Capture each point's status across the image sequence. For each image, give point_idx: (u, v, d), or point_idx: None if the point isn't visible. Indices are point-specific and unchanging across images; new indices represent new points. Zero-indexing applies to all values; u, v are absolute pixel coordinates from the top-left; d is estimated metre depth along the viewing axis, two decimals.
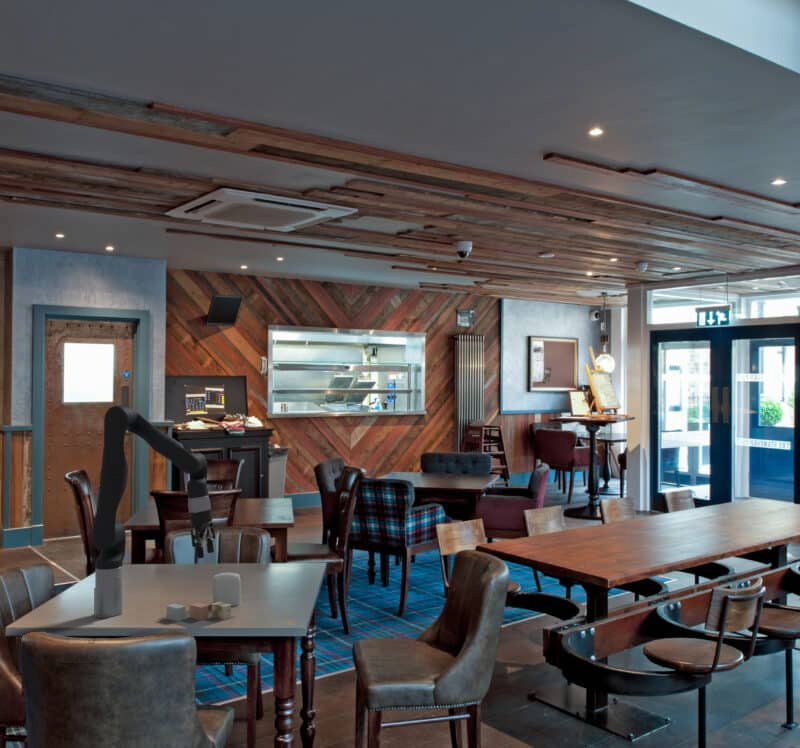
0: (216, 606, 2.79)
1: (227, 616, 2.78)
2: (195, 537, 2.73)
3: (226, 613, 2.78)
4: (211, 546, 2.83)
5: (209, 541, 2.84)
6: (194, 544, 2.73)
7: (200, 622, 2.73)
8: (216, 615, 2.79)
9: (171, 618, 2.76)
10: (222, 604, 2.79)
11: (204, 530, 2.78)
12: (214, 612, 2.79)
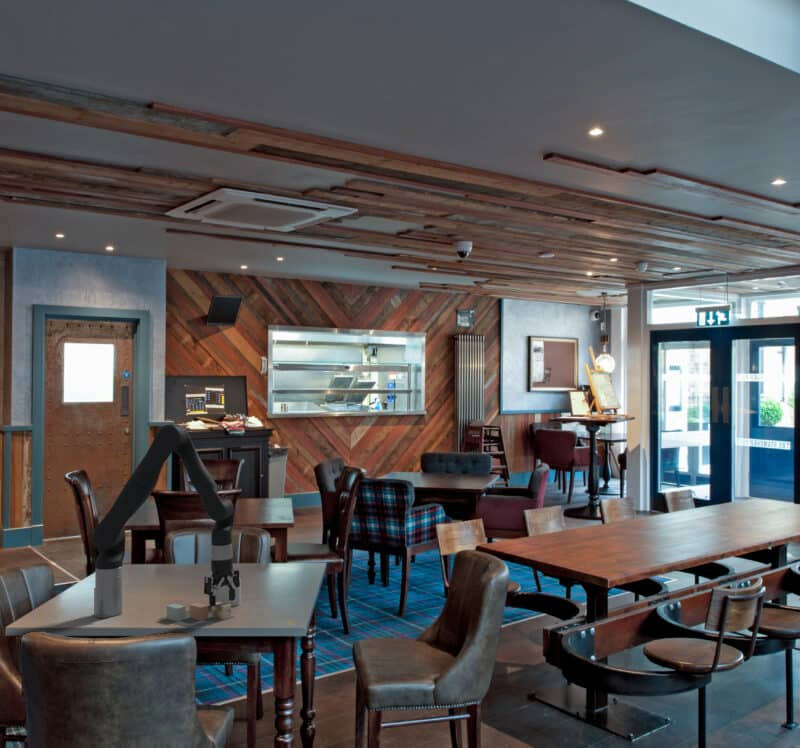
0: (216, 606, 2.79)
1: (227, 616, 2.78)
2: (207, 585, 2.74)
3: (226, 613, 2.78)
4: (232, 594, 2.83)
5: (231, 588, 2.83)
6: (205, 592, 2.74)
7: (200, 622, 2.73)
8: (216, 615, 2.79)
9: (171, 618, 2.76)
10: (222, 604, 2.79)
11: (220, 579, 2.77)
12: (214, 612, 2.79)
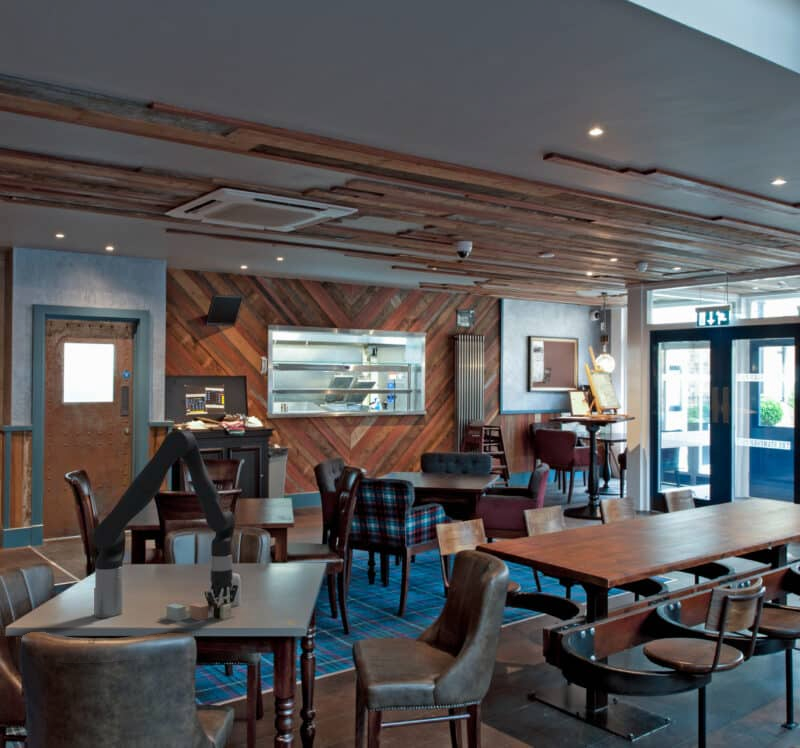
0: None
1: (227, 616, 2.78)
2: (209, 600, 2.75)
3: (227, 613, 2.78)
4: None
5: None
6: (210, 604, 2.76)
7: (200, 622, 2.73)
8: None
9: (171, 618, 2.76)
10: (222, 604, 2.79)
11: (220, 590, 2.77)
12: None
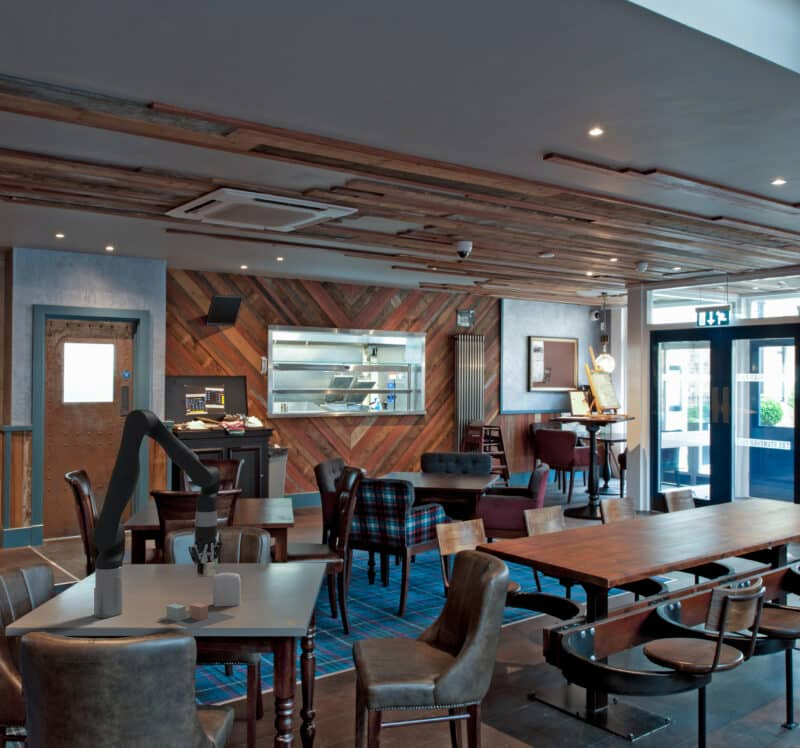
0: None
1: (212, 573, 2.77)
2: (193, 555, 2.75)
3: (211, 570, 2.77)
4: None
5: (209, 560, 2.81)
6: (194, 559, 2.76)
7: (200, 622, 2.73)
8: (201, 574, 2.78)
9: (171, 618, 2.76)
10: (206, 562, 2.79)
11: (204, 546, 2.77)
12: None
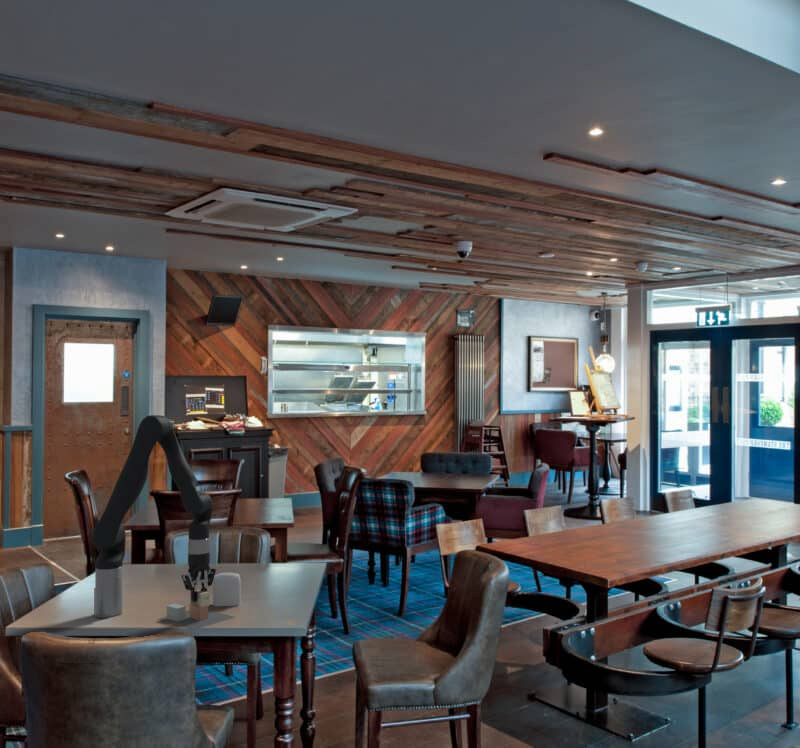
0: None
1: (205, 604, 2.77)
2: (186, 583, 2.74)
3: (205, 601, 2.77)
4: None
5: (203, 587, 2.80)
6: (187, 587, 2.75)
7: (200, 622, 2.73)
8: (194, 603, 2.78)
9: (171, 618, 2.76)
10: (200, 592, 2.78)
11: (197, 574, 2.76)
12: None
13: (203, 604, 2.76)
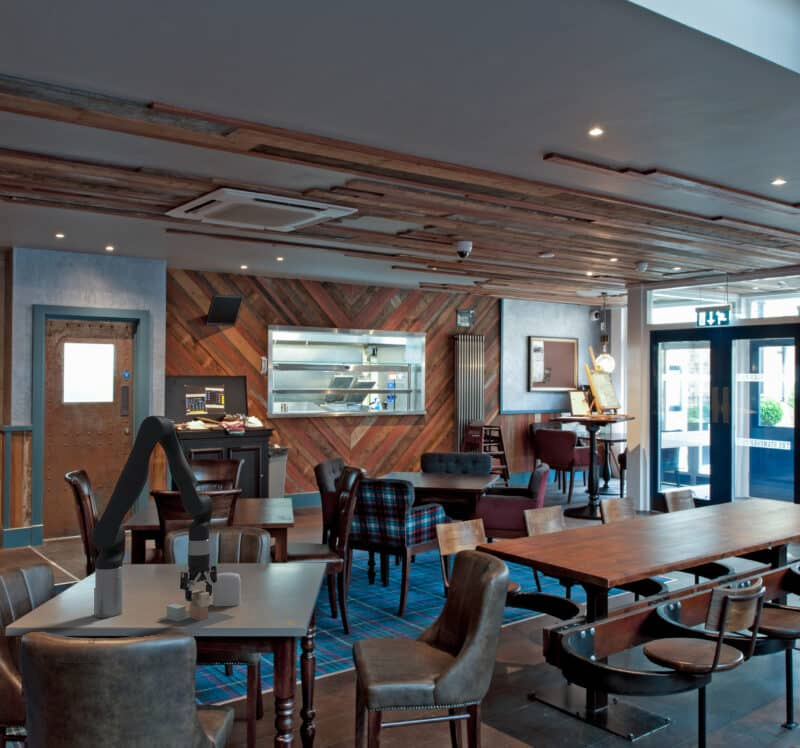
0: (194, 594, 2.77)
1: (205, 604, 2.77)
2: (183, 580, 2.73)
3: (205, 601, 2.77)
4: (208, 590, 2.81)
5: (208, 584, 2.82)
6: (181, 587, 2.73)
7: (200, 622, 2.73)
8: (194, 603, 2.77)
9: (171, 618, 2.76)
10: (200, 592, 2.78)
11: (197, 574, 2.76)
12: (192, 600, 2.78)
13: (203, 604, 2.76)
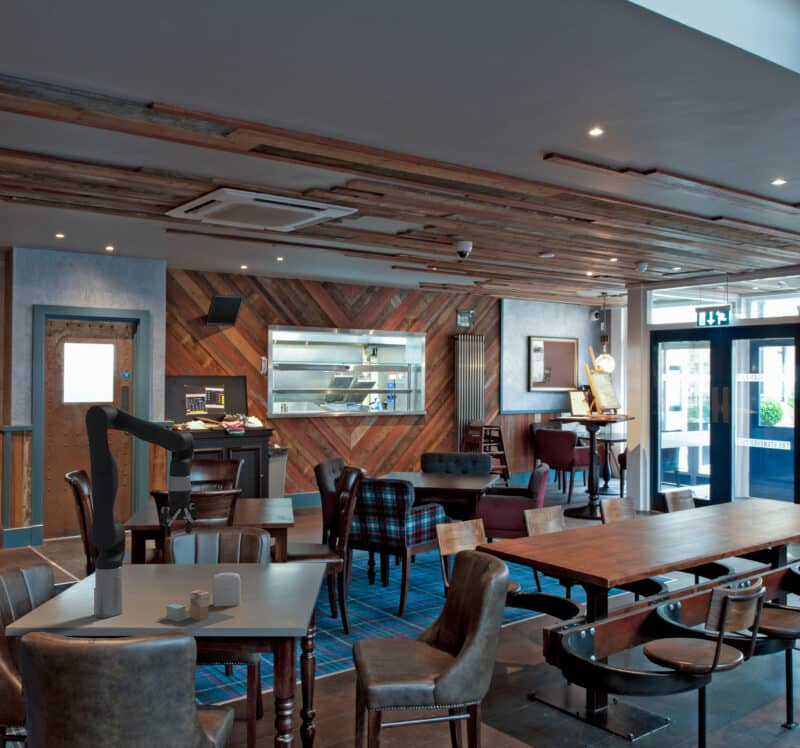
0: (194, 594, 2.77)
1: (205, 604, 2.77)
2: (162, 515, 2.73)
3: (205, 601, 2.77)
4: (188, 527, 2.81)
5: (188, 521, 2.82)
6: (161, 522, 2.73)
7: (200, 622, 2.73)
8: (194, 603, 2.77)
9: (171, 618, 2.76)
10: (200, 592, 2.78)
11: (177, 510, 2.76)
12: (192, 600, 2.78)
13: (203, 604, 2.76)
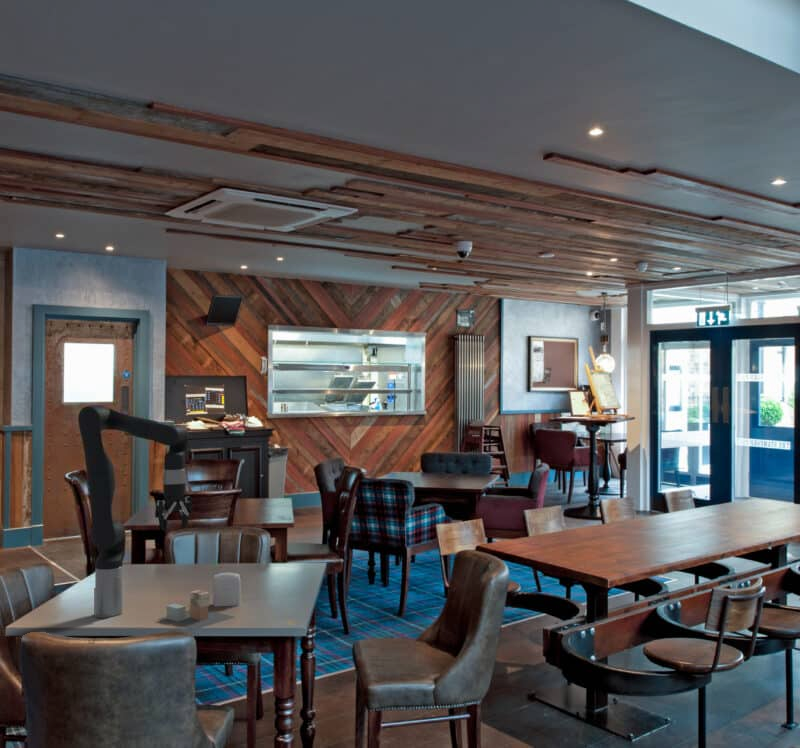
0: (194, 594, 2.77)
1: (205, 604, 2.77)
2: (158, 508, 2.73)
3: (205, 601, 2.77)
4: (184, 520, 2.81)
5: (184, 515, 2.82)
6: (156, 515, 2.73)
7: (200, 622, 2.73)
8: (194, 603, 2.77)
9: (171, 618, 2.76)
10: (200, 592, 2.78)
11: (172, 503, 2.76)
12: (192, 600, 2.78)
13: (203, 604, 2.76)
